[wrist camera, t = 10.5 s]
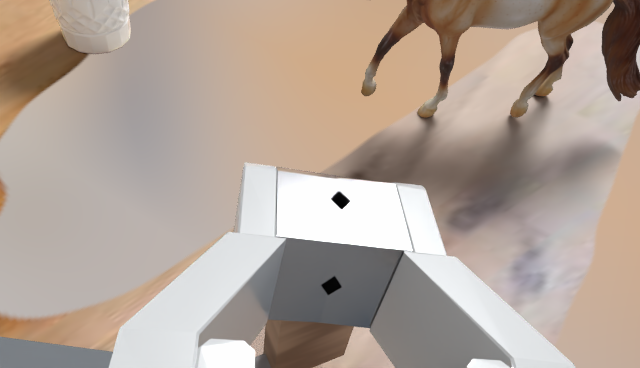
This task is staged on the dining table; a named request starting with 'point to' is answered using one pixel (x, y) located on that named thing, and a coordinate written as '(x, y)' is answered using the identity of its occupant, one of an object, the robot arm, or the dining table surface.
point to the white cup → (93, 24)
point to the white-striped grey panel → (49, 355)
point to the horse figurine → (515, 11)
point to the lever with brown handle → (302, 344)
